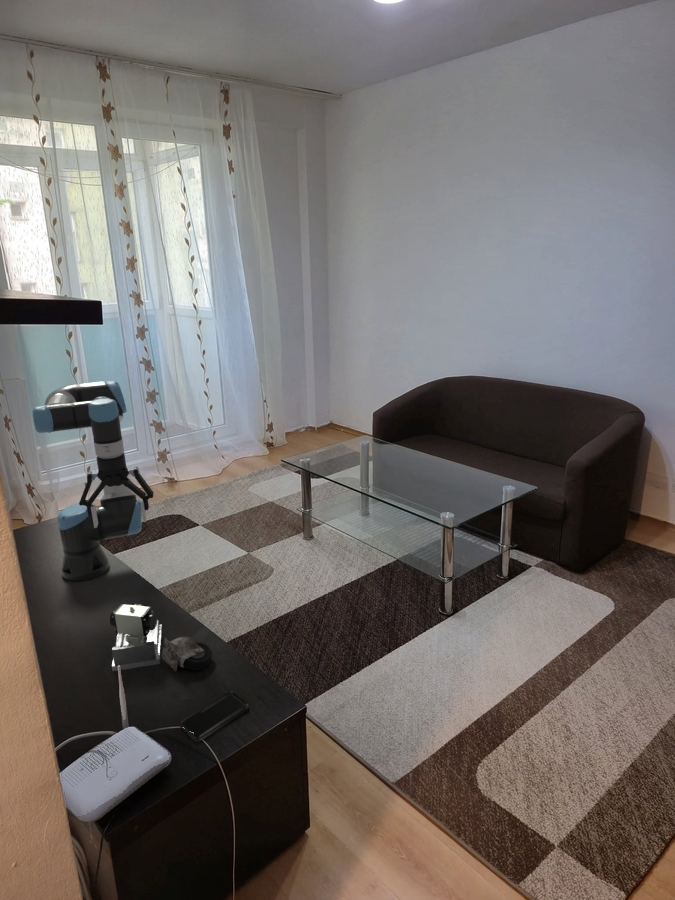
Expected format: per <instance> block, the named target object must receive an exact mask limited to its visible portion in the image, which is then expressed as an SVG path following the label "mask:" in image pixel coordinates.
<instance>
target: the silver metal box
mask: <svg viewBox="0 0 675 900" xmlns="http://www.w3.org/2000/svg"><path fill="white" fill-rule="evenodd" d="M126 636H127V634H119V633H117V636H116V642H115V646H113V647H112V648H111V649H112V650H111V652H112V658H113V659H112V663H111V669H112V672H117V666H118V665H120V666H121V668H122V670H121V671H124V670H129V669H135V668H142V667H143V668H144V667H149V666H153V665H154V666H156V665H160V664H161V656H162V641H163V640H162V636H163V625H162V624H160V621H159V620H158V619H157V624H156V627H155V629H154V630H152V631H150V632H149V633H148V634H147V642H145V643H138V644H132V645H128V644H129V643H128V642H126ZM161 640H162V641H161Z"/></svg>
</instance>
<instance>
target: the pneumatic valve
mask: <svg viewBox="0 0 675 900" xmlns="http://www.w3.org/2000/svg"><path fill="white" fill-rule="evenodd" d="M157 620H158V616H157V614H156V613H154V611H153V610H152V606H144V605H142V604H137V603H135V604H134V605H133V604H123V603H121V604H120V605H119V606H118V608H116V609H114V610H112V612H111V614H110V616H109V625H110V626H111V627H114V630H115V634H118V633H119V634H127V636H126V642H128V643H129V644H128V645H132V644H138V643H145V642H147V634H148V633H149V632H150V631H152V630H154V629H155V627H156V624H157Z"/></svg>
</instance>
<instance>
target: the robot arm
mask: <svg viewBox="0 0 675 900" xmlns="http://www.w3.org/2000/svg"><path fill="white" fill-rule="evenodd" d="M126 412H128V411H127V405H126V403H125V398H124V394H123V392H122V389H121V386H120V384H119V383H118V382H117V381H116V380H103V381H94V382H93V381H92V382H86V383H85V382H84V383H74V384H67V385H64V386H62V387H59V388H58V389H55V390H54V391H52V392H51V393H49V394H48V395H47V397H46V398H45V401H44V405H41V406H40V405H39V406H35V407H33V409H32V419H33V424H34V429H35V431H36V432H37V433H39V434H43V433H44V434H45V433H48V434H50V433H55V432H60V431H70V430H75V429H77V430H78V429H85V428H87V429H88V428H91V432H92V437H93V446H94V451H95V452H94V453H95V456H96V457H95V458H96V465H97V471H98V472H93V471H91V470H90V471H88V472H87V475H86V484H85V487H84V488H83V492H82V494H81V496H80V500H79V502H76V503H73V504H71V505H68V506H66V507H65V508H63V509H62V510H60V512H59V513H58V515H57V523H58V525H57V528H58V531H59V534H60V540H61V545H62V550H63V557H62V560H61V567H60V568H61V575H62V576H61V577H62V578H63V579H65V580H67V581H71V582H83V581H88V580H91V579H94V578H98V577H100V576H101V575H103V574H105V573H106V572H107V571H108V569H109V568H110V563H109V562H110V561H109V558H108V556H107V554H106V553H105V550H103V547H102V546H101V542H100V541H105V540H111V539H115V538H121V537H129V536H131V535H135V534H138V533H140V532H141V530H142V523H146V522H147V518H148V517H147V511H149V507H150V505H149V504H150V503H149V499H153V498H154V494H155V493H154V491H153V490H152V488H151V486H149V484H148V483H147V481H146V480H145V479H144V477H143V476H142V475H141V473H140V470H139V467H138V466H134V468H130V469H128V467H127V461H126V454H125V447H124V441H123V436H122V429H121V422H122V420H123V419H124V414H125V413H126ZM129 475H131V476H132V477H134V478H135V480H136V481H137V483H138V484H139V485H140V487H141V488H142V489H141V488H140V487H139V486H138V485H137V484H135V483H133V481H132V480H131V479H130V478H129ZM96 478H97V479H99V481H100V483H99V484H98V486H97V488H96V489H95V490H94V491H93V493H92V494H91V496H90V497H89V498H88V499H87V497H88V493H89V490H90V488H91V486H92V483H93V481H95V480H96ZM102 491H103V495H102V497H101V499H99V501H100V502H99V503H100V505H97V506H96V502H95V500H96V499H97V498H98V497H99V495H100V494H101V492H102ZM137 496H138V497H139V498H137Z"/></svg>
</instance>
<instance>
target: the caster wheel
mask: <svg viewBox="0 0 675 900" xmlns="http://www.w3.org/2000/svg"><path fill="white" fill-rule="evenodd" d="M212 655H213V652H212V649H211V648H210V646H209V645H207V644H205V643H203V642H201V641H196V640H195V639H193V638H192V637H189V636H180V637H176V638H175V639H172V640H168V639H167V638H166V637H164V640H163V647H162V650H161V659H162V660H163V661H164V662H165V663H166V664H167V665H168V666H169V667H170V668H171V669H172V670H173V671H174V672H177V670H178V669H177V668H178V666H179V667H181V668H183V669H184V668H186V669H187V670H191V671H201V670H204V669H206V668H207V667H209V666H210V664H211V661H212V657H213V656H212Z"/></svg>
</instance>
